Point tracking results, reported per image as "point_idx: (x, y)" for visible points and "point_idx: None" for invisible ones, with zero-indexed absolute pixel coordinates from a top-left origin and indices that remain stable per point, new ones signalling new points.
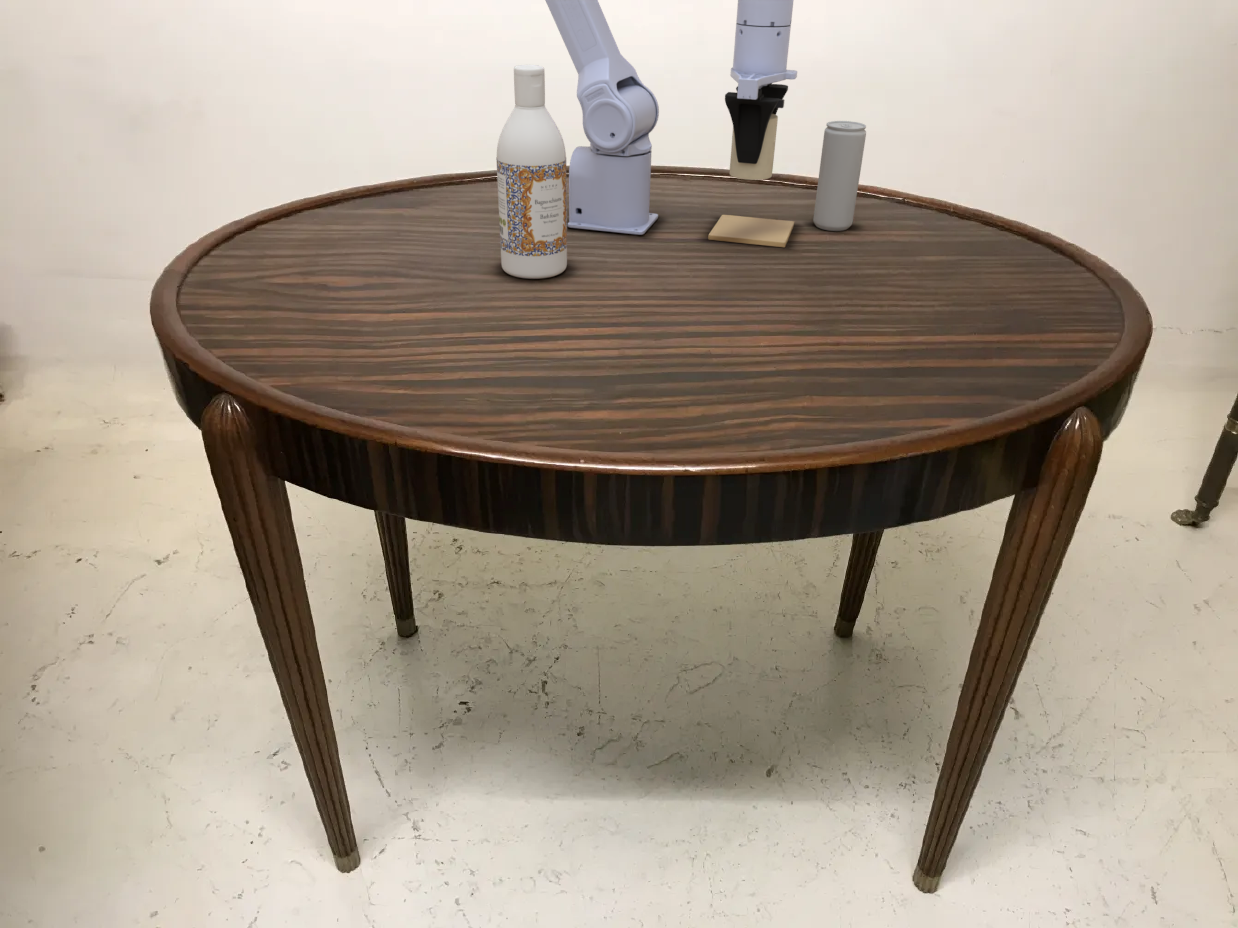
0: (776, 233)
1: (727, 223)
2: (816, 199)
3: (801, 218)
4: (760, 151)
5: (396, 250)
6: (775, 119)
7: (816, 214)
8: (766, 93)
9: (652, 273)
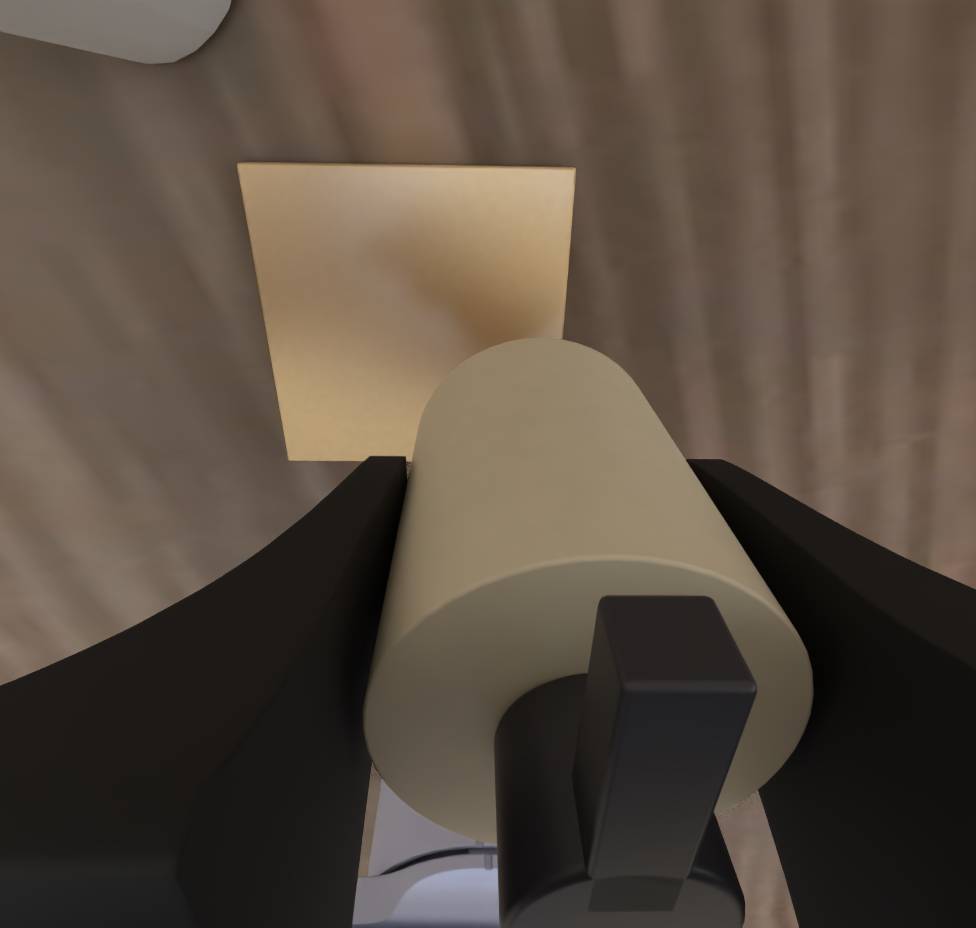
0: (456, 225)
1: (395, 427)
2: (123, 42)
3: (90, 138)
4: (761, 484)
5: (758, 904)
6: (698, 561)
7: (184, 39)
8: (288, 925)
9: (892, 531)
